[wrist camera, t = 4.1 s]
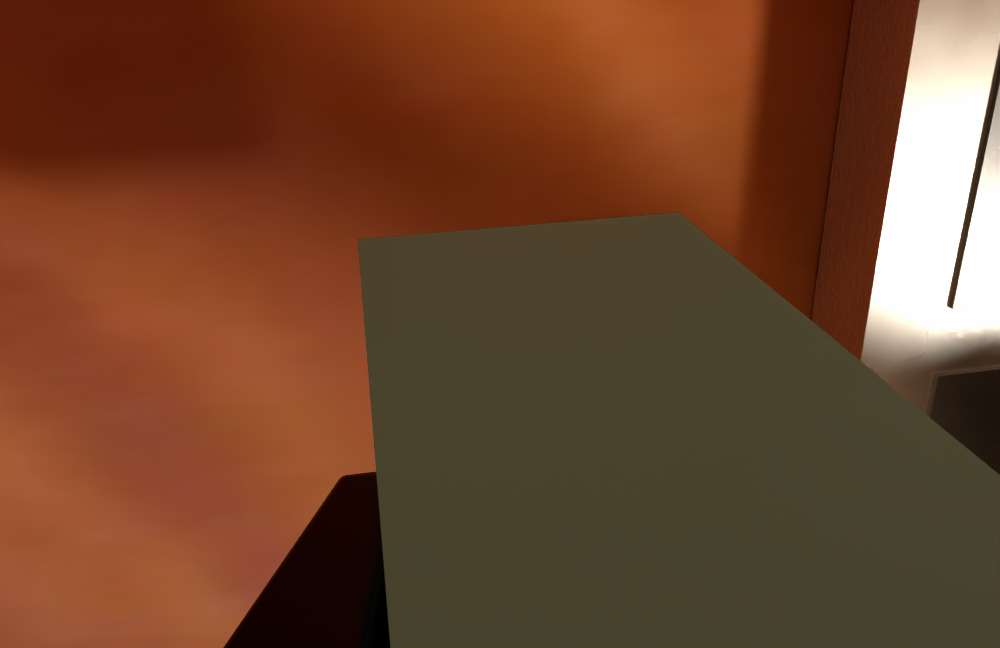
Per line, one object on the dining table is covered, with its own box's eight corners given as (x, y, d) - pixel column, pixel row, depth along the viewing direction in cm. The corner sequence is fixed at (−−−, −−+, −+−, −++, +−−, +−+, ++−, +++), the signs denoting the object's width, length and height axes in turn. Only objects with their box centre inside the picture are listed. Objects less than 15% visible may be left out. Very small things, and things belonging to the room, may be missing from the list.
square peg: (662, 477, 13) (1103, 1209, 5) (385, 513, 12) (467, 1389, 5) (679, 212, 11) (1353, 766, 4) (357, 239, 10) (416, 958, 3)
